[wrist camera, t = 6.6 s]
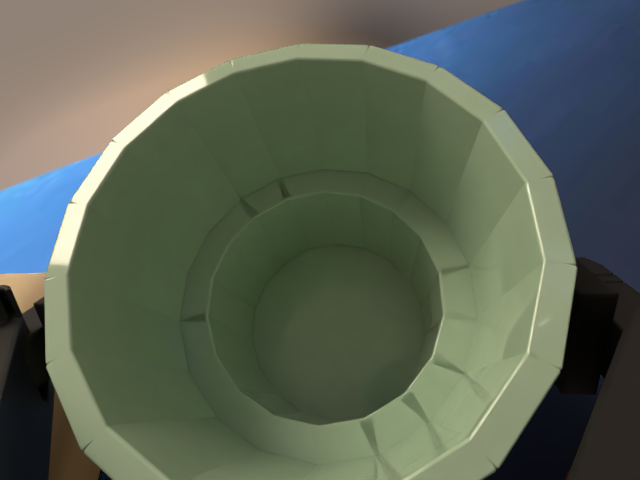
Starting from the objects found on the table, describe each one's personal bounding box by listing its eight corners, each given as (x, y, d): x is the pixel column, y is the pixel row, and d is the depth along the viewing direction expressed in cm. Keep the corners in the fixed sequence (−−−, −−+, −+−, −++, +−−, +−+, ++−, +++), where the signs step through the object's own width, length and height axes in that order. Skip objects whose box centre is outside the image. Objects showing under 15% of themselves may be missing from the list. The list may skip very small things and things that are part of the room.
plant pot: (442, 218, 20) (513, 19, 10) (472, 464, 16) (665, 589, 5) (240, 227, 22) (112, 62, 11) (214, 454, 17) (-40, 533, 7)
